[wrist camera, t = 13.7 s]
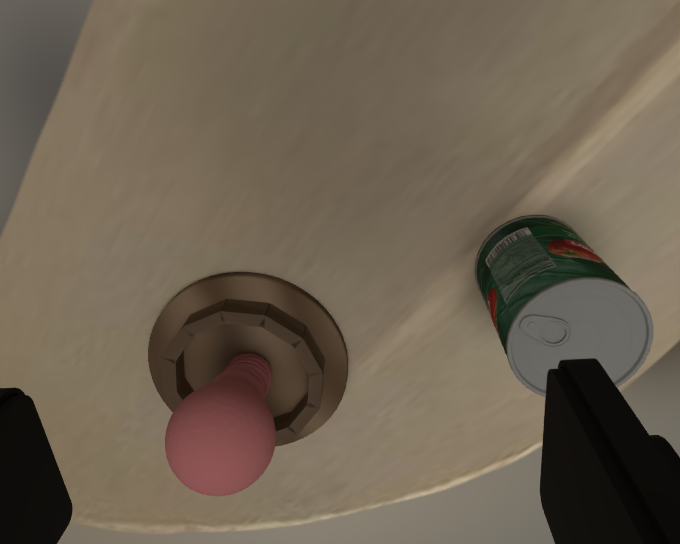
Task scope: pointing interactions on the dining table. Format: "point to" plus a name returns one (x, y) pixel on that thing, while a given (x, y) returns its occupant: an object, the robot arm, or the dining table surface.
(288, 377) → the holder
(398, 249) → the dining table surface
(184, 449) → the light bulb
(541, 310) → the canned tomato
